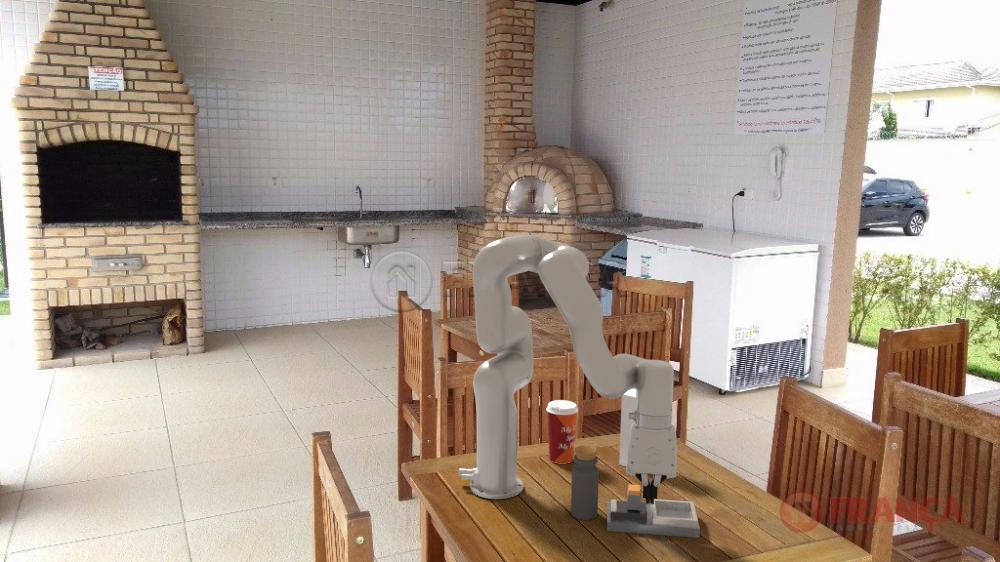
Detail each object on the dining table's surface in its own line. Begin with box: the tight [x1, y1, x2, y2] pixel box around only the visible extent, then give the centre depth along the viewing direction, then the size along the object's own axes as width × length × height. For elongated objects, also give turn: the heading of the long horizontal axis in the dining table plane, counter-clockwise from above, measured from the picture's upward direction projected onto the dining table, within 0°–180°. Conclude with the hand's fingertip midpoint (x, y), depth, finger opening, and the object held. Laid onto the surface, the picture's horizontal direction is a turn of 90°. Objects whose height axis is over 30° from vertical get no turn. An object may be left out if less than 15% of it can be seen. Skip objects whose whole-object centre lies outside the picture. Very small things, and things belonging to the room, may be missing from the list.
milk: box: [619, 388, 636, 467], centre depth 195 cm, size 6×6×22 cm
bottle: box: [570, 445, 600, 521], centre depth 168 cm, size 6×6×15 cm
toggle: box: [626, 483, 642, 510], centre depth 165 cm, size 3×4×4 cm
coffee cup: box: [545, 399, 579, 463], centre depth 198 cm, size 8×8×15 cm
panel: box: [606, 498, 701, 539], centre depth 165 cm, size 19×10×4 cm, turn 82°
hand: (649, 501), depth 165 cm, fingers closed
